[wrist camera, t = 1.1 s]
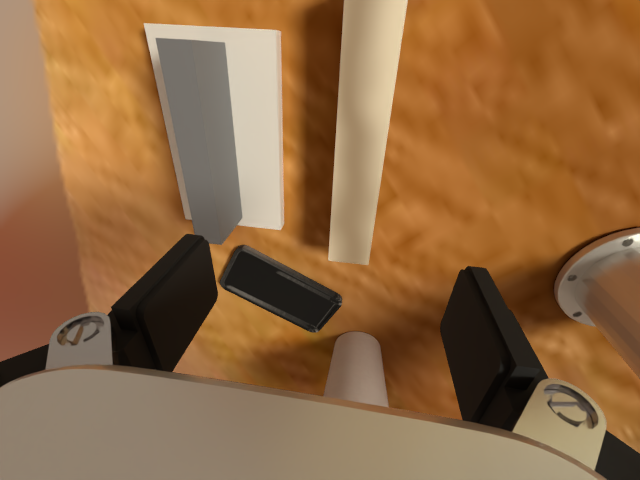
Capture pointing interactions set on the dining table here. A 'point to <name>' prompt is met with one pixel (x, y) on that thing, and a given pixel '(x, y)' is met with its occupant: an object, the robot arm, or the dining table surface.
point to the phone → (279, 289)
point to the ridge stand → (222, 123)
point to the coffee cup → (357, 370)
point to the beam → (363, 121)
